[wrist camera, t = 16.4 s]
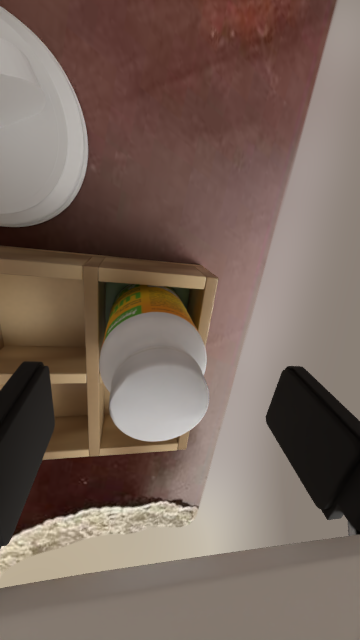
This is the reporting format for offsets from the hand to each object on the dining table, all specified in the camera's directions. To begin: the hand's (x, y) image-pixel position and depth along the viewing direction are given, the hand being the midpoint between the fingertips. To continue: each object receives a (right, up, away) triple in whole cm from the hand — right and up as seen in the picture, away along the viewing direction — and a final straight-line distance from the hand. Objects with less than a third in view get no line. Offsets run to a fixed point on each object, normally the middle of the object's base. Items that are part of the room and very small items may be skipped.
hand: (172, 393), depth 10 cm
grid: (-6, +1, +10) cm, 12 cm away
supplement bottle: (-2, +4, +9) cm, 10 cm away
